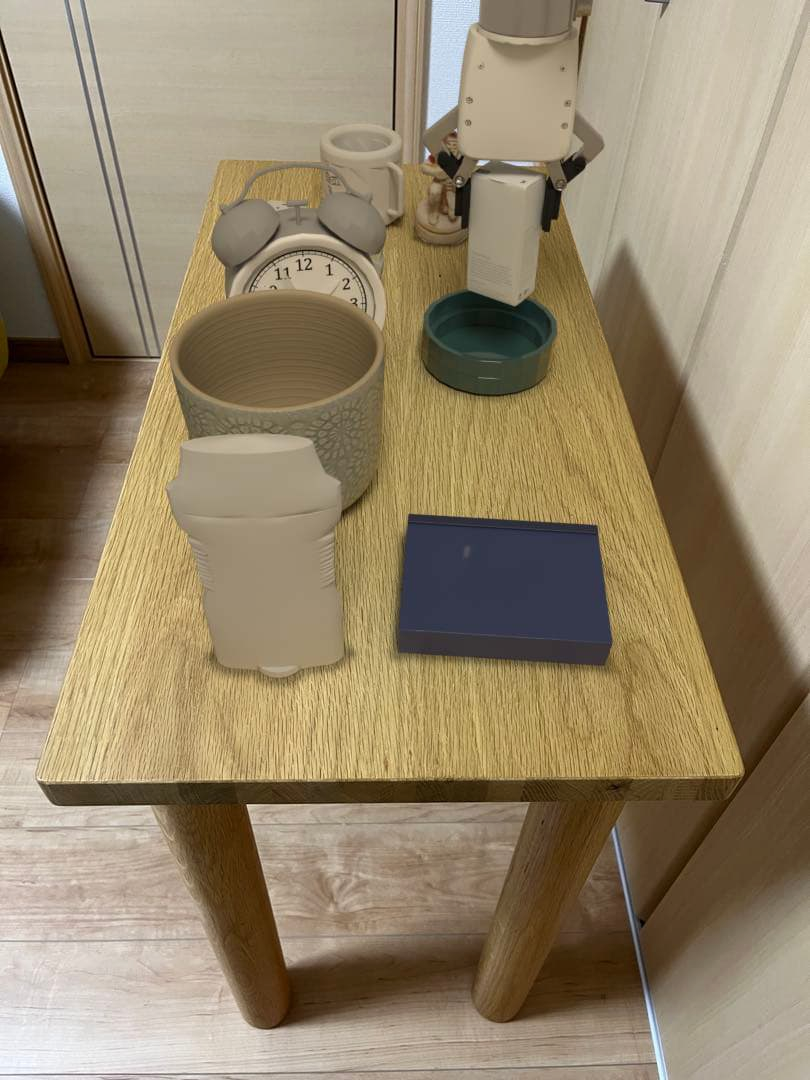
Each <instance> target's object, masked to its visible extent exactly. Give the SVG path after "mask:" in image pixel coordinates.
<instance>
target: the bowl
mask: <svg viewBox="0 0 810 1080" xmlns="http://www.w3.org/2000/svg"><path fill="white" fill-rule="evenodd" d="M558 333H559V332H558V323H557V320H556V318H555V316H554V315H553V313H552V311H550V309H549V308H548V307H546V306H545V305H543V304H542V303H541V302H540V301H538V300H537V299H535V298H533V297H530V296H528V297H527V298H526V299H524V300H523V301H522V302H521V303H519V304H518V305H517V306H512V305H509V304H506V303H503V302H501V301H498V300H495V299H492V298H489V297H486V296H484V295H481V294H478V293H475V292H472V291H470V290H467V288H463V289H458V290H455V291H452V292H449V293H446V294H444V295H442V296H440V297H439V298H437V299H436V300H434V301H433V302H431V303H430V304H429V306H428V307H427V309H425V311H424V313H423V322H422V339H421V341H422V343H421V359H422V361H423V363H424V365H425V367H426V369H427V370H428V372H430V373H431V374H432V375H433V376H434V377H435V378H436V379H437V380H439V382H441V383H444V384H446V385H448V386H450V387H451V388H454V389H457V390H461V391H465V392H469V393H472V394H476V395H494V396H497V395H505V394H511V393H512V394H513V393H518V392H521V391H524V390H527V389H528V388H531V387H534V386H536V385H537V384H538V383H540V381H542V380H543V379H544V378H545V377H547V375H548V374H549V372H550V369H551V367H552V364H553V359H554V354H555V349H556V343H557V338H558Z"/></svg>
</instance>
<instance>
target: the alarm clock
mask: <svg viewBox="0 0 810 1080" xmlns="http://www.w3.org/2000/svg"><path fill="white" fill-rule="evenodd" d="M293 168H308V169H317V170H318V169H319V170H321V169H323V170H326V171H330V172H332V173H333V174H334V175H335V176H336V177H338V178H339V179H340V180H341V182H342V183H343V185H344V186H345V188H346V189H347V190H348V191H349V192H350V193H348V192H338V193H333V194H330V195H328V196H327V197H325V198H324V199H323V198H322V200H321V202H320V203H319V205H318V207H317V208H315V207H314V208H313V207H308V205H309V200H308V199H307V198H302V199H288V200H286V201H285V202H286V204H287V207H292V208H288V209H283V210H278V211H276V210H275V209H274V208H273V207H272V206H271V205H270V204H268V203H267V201H265V200H264V199H260V198H247V199H245V198H246V196H247V194H248V192H249V190H250V188H251V186H252V185H253V184H254V183H255V181H257V179H258V178H259V177H261V176H263V175H266V174H268V173H272V172H277V171H280V170H286V169H293ZM372 196H373V194H372V193H368V194H366V195H365V196H364V195H362V194H360V193H358V192H357V191H355V190H353V189H352V188H351V187H350V186H349V185H348V184H347V182H346V181H345V179H344V177H343V175H341V174H340V173H339V172H338V171H337V170H336V169H335V168H333V167H331V166H328V165H324V164H321V162H310V161H289V162H282V163H277V164H274V165H270V166H266V167H264V168H261V169H259V170H257V171H255V172H254V173H253V174H252V175H251V176H250V178H249V179H248V180H247V181H246V183H245V185H244V187H243V190H242V192H241V194H240V195H239V196H238V197H237V198H236V199H235V200H233V201H232V202H231V203H230V204H228V205H227V204H226V203H219V205H218V207H219V211H220V212H221V214H220V215H219V216H218V218H217V220H215V221H216V222H215V224H214V226H213V229H212V233H211V239H210V244H211V250H212V251H213V253H214V255H215V256H216V259H217V260H218V261H219V262H220V263H221V264H222V266H224V267H225V269H224V292H225V299H227V298H230V297H233V296H236V295H240V294H244V293H249V292H255V291H262V290H272V289H297V290H307V291H314V292H319V293H324V294H328V295H331V296H335V297H338V298H340V299H343V300H345V301H348V302H350V303H352V304H354V305H355V306H357V307H359V308H360V309H362V310H363V311H364V312H366V313H367V314H368V315H369V316H370V317H371V318H372V319H373V320H374V321H375V322H376V324H377V325H378V327H379V328H380V330H381V332H382V331H383V329H384V327H385V323H386V313H387V308H388V307H387V301H386V293H385V287H384V285H383V282H382V280H381V278H379V275H378V273H377V271H376V268H375V266H374V264H373V262H372V259H371V257H370V255H369V253H370V254H374V255H376V254H379V253H380V252H381V250H382V248H383V247H385V245H386V240H387V227H386V226H387V225H386V226H385V223H384V221H383V218H382V217H381V215H380V213H379V212H378V210H377V209H376V208H375V207H374V206H373V205H372V204H371V201H372V199H373V198H372ZM300 206H304V207H308V208H300ZM383 249H384V248H383ZM382 333H383V332H382Z"/></svg>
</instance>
